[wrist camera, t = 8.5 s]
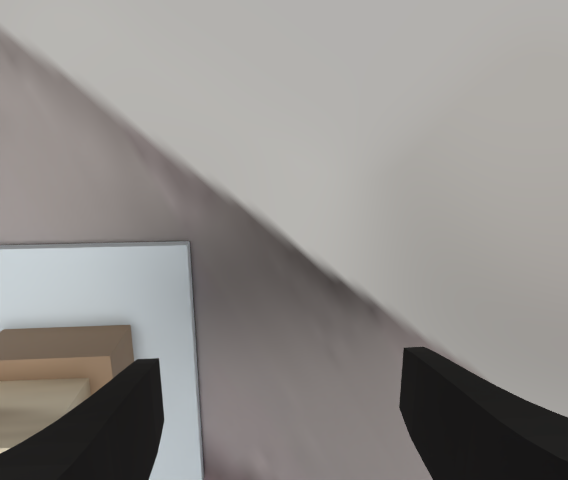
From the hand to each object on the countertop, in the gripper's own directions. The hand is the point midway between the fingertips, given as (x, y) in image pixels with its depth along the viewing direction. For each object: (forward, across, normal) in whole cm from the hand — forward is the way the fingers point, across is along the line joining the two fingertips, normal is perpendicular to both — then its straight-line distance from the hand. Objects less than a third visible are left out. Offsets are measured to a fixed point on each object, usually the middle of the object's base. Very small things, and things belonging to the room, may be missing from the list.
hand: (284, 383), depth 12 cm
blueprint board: (+9, +10, +5) cm, 15 cm away
